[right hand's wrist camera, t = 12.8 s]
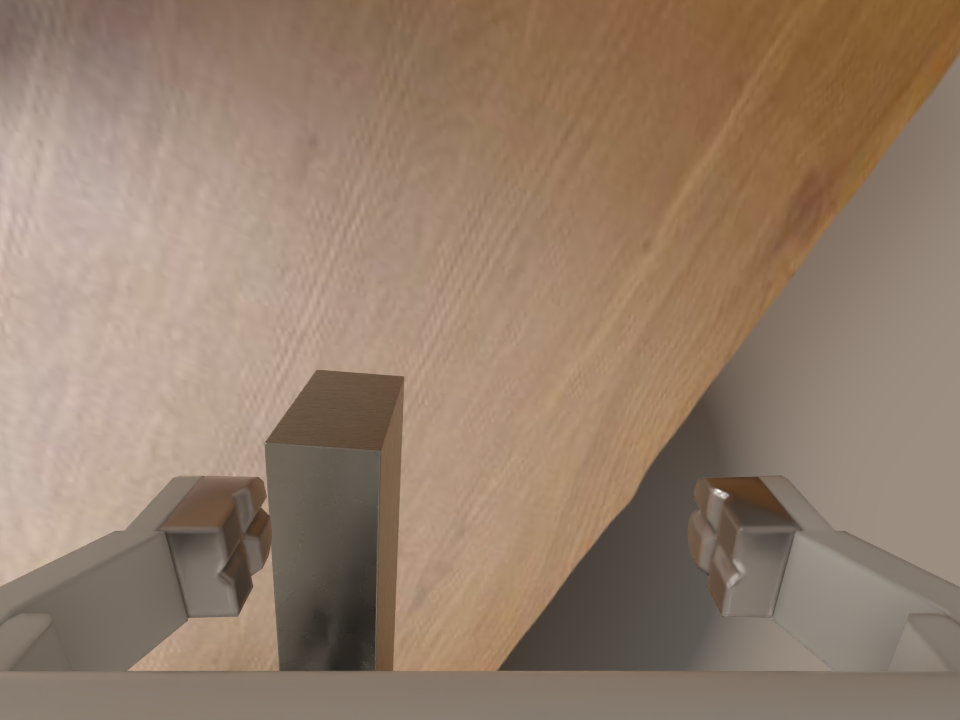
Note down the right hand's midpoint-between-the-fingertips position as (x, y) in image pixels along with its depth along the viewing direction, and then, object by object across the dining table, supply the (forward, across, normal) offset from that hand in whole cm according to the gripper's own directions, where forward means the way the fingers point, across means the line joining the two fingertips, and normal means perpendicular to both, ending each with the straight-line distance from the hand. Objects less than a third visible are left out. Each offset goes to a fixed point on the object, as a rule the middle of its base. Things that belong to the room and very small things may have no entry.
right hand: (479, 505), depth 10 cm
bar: (+18, -7, -16) cm, 26 cm away
